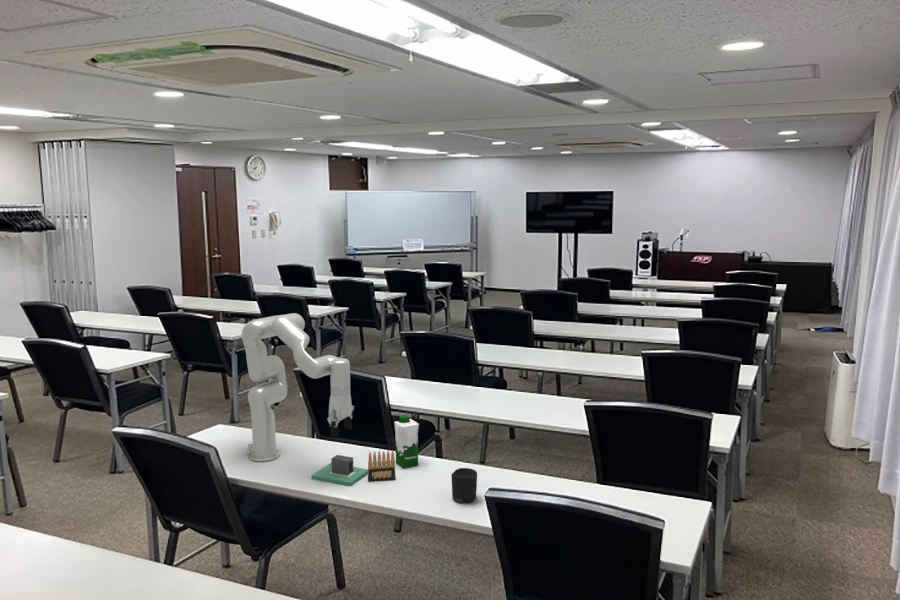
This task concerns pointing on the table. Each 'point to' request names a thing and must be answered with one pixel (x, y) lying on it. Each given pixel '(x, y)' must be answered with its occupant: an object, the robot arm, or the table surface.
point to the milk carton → (406, 442)
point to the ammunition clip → (381, 467)
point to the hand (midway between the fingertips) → (341, 432)
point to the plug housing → (342, 465)
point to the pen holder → (464, 485)
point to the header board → (339, 476)
